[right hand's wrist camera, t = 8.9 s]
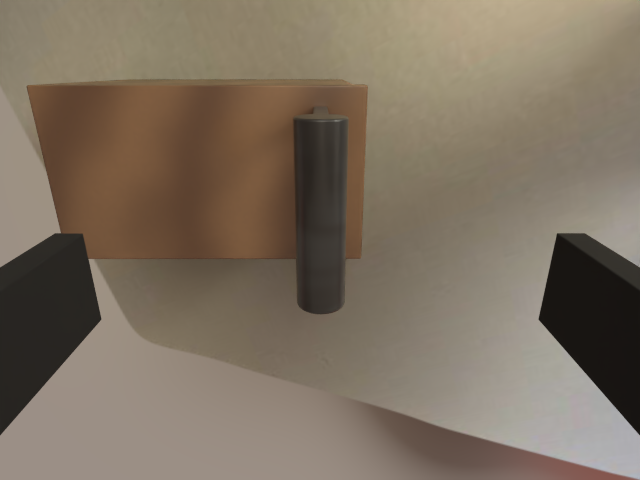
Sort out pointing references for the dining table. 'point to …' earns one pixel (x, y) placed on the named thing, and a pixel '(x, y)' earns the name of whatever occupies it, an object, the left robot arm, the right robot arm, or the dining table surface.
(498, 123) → the dining table surface
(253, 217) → the lid
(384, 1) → the dining table surface
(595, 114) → the dining table surface
